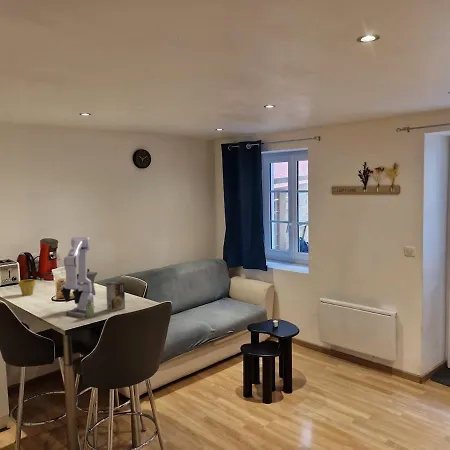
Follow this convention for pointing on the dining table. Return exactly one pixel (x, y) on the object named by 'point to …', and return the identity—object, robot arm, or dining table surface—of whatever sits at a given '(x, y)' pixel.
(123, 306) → the coffee box
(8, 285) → the dining table surface
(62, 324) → the dining table surface
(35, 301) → the dining table surface
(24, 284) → the plant pot
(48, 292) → the dining table surface
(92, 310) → the bottle
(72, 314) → the u rest
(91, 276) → the coffeepot
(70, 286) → the robot arm
